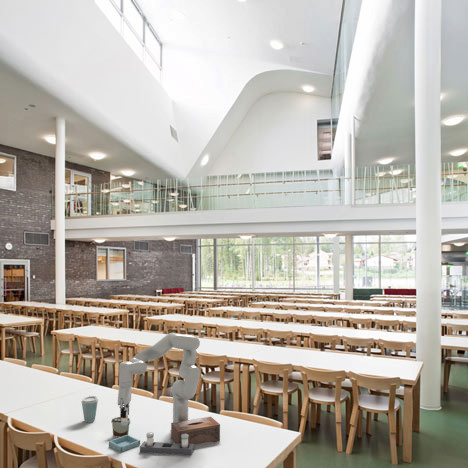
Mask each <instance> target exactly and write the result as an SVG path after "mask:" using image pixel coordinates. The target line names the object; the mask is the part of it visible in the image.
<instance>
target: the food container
mask: <svg viewBox="0 0 468 468" xmlns="http://www.w3.org/2000/svg"><path fill="white" fill-rule="evenodd" d="M130 424H131V418H129V417H128V425H126V426H122V425H121V417H120V416H118V417H114V418H112V419H111V425H112V437H116V436H117V438H119V437H122V436H125V435H129V430H130Z"/></svg>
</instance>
